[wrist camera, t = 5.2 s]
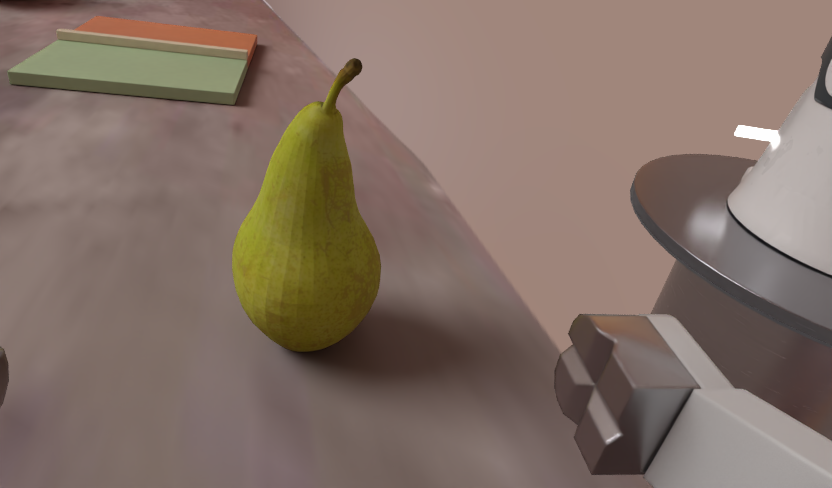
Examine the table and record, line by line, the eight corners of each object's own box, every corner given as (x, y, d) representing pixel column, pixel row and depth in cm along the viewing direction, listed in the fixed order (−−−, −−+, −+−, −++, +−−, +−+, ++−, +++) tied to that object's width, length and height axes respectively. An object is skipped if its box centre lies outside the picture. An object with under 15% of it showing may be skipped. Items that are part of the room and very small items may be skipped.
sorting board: (257, 44, 61) (257, 27, 60) (234, 105, 45) (234, 83, 44) (97, 25, 58) (95, 7, 57) (9, 84, 42) (4, 59, 41)
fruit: (271, 279, 26) (276, 11, 20) (388, 312, 26) (431, 44, 19) (201, 357, 22) (178, 37, 15) (342, 403, 21) (379, 83, 15)
